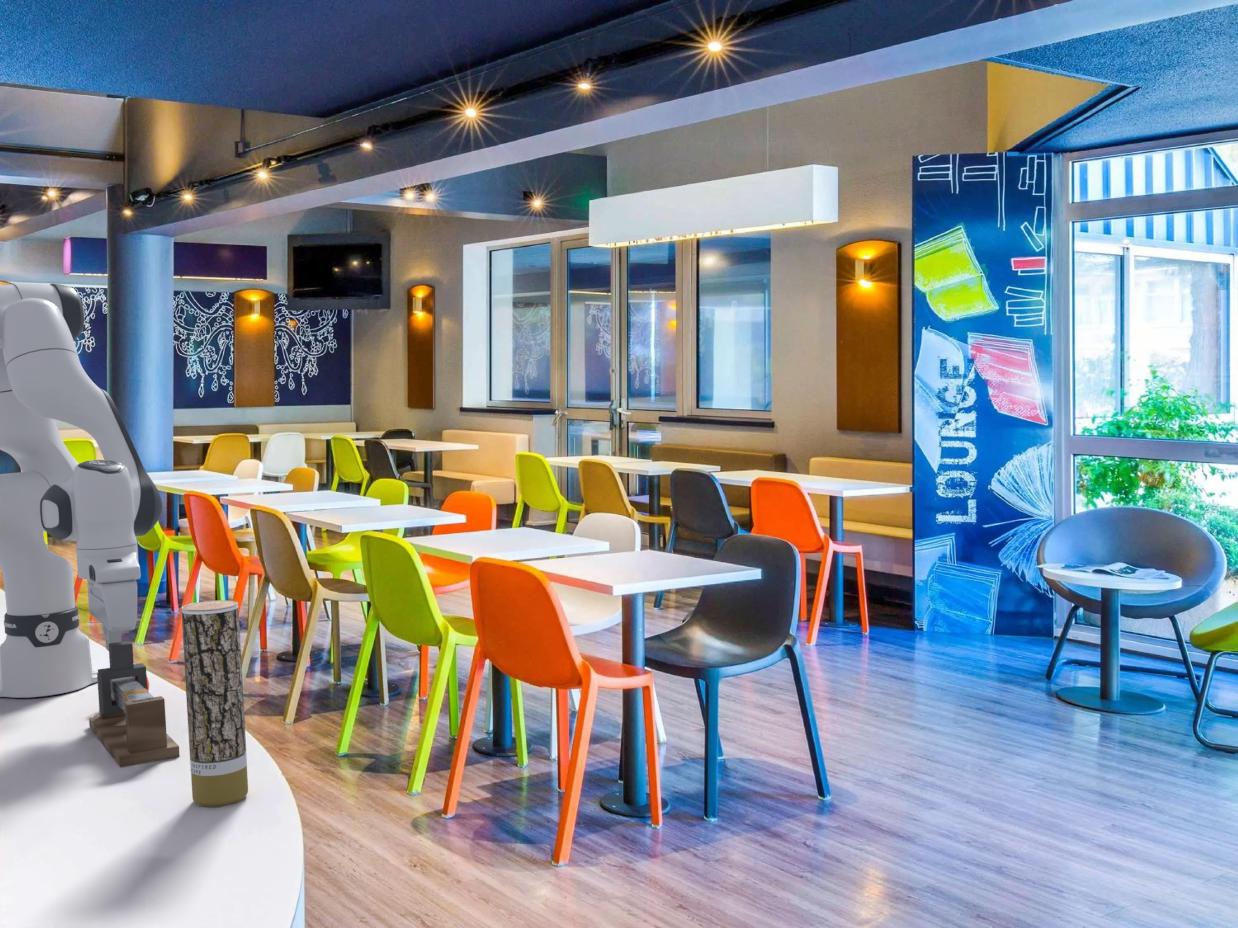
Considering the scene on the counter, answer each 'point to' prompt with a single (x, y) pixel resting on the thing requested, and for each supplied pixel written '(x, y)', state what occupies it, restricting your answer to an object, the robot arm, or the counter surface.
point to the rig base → (135, 732)
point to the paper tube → (215, 702)
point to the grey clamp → (118, 674)
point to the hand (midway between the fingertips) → (113, 651)
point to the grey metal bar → (127, 691)
